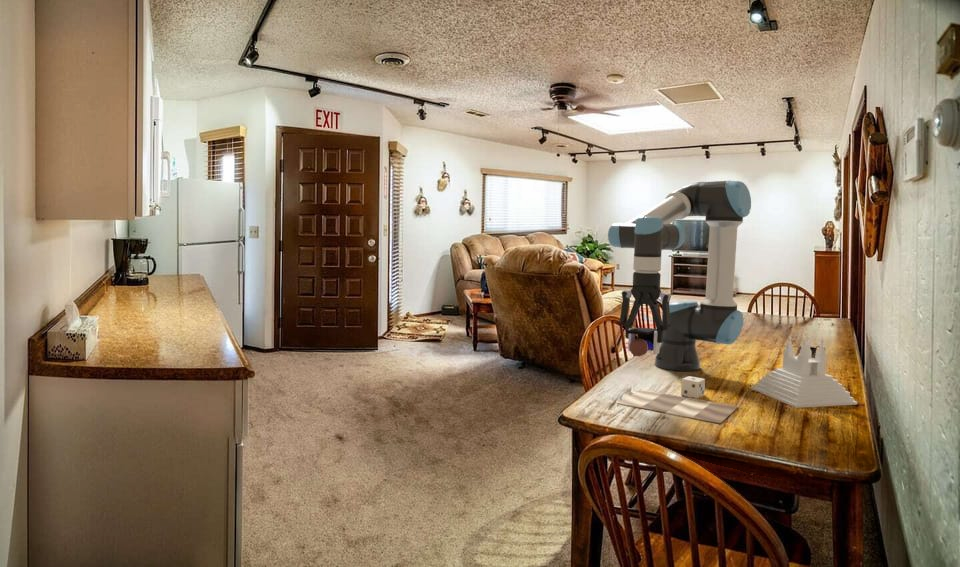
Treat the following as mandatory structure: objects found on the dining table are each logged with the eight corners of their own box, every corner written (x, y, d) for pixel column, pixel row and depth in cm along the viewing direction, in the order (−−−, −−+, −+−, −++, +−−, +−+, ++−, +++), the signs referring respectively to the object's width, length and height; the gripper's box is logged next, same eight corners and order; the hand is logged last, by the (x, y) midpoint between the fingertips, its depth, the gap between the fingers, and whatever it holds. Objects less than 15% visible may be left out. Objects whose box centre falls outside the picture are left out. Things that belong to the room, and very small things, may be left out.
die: (687, 392, 187) (688, 375, 186) (704, 395, 184) (705, 378, 183) (680, 395, 183) (681, 378, 183) (697, 399, 180) (698, 382, 179)
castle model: (796, 408, 173) (800, 343, 171) (750, 389, 192) (754, 331, 190) (857, 405, 177) (862, 342, 175) (806, 386, 196) (810, 329, 194)
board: (640, 390, 188) (640, 389, 188) (738, 407, 171) (738, 406, 171) (616, 403, 173) (616, 402, 173) (720, 424, 157) (720, 423, 157)
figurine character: (638, 351, 185) (623, 355, 172) (640, 326, 185) (625, 327, 172) (661, 354, 182) (647, 358, 169) (663, 328, 182) (649, 330, 168)
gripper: (686, 273, 172) (682, 354, 174) (619, 268, 184) (616, 345, 186) (677, 274, 166) (673, 359, 168) (608, 270, 177) (605, 349, 180)
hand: (643, 351), depth 177 cm, fingers closed on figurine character, 7 cm apart
